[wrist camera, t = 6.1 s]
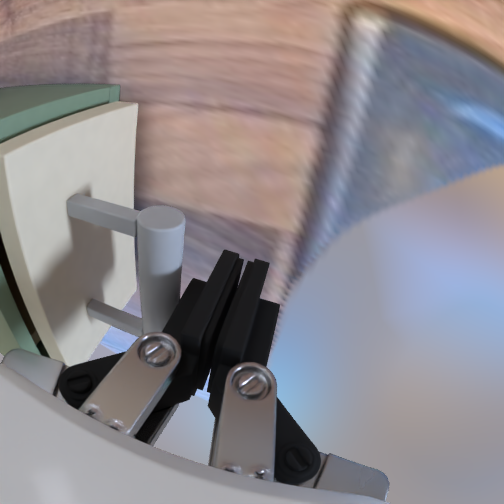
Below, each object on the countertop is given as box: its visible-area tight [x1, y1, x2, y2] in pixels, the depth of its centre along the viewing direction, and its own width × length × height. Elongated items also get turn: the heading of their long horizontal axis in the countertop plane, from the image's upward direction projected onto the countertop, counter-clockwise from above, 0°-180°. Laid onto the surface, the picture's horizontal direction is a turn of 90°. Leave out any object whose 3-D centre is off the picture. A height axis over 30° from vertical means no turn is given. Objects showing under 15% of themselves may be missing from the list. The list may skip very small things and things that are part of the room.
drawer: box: [0, 101, 186, 366], centre depth 11 cm, size 17×10×7 cm, turn 78°
